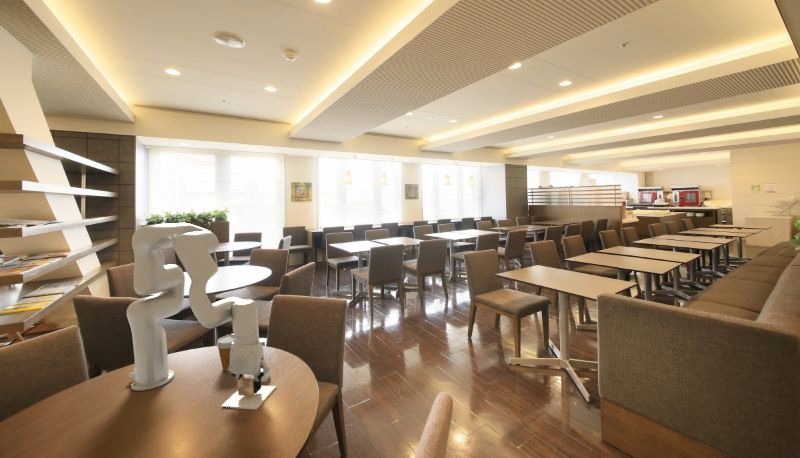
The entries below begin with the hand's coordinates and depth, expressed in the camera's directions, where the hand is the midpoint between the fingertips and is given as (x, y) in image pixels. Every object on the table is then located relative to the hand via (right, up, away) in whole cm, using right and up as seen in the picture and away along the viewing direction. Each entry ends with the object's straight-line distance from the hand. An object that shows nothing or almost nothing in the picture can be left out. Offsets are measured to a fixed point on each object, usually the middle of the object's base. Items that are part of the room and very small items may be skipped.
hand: (249, 389), depth 107 cm
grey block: (-1, -2, +11) cm, 11 cm away
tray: (0, -3, 0) cm, 3 cm away
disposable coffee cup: (-17, -2, +20) cm, 26 cm away
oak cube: (0, -1, 0) cm, 1 cm away
